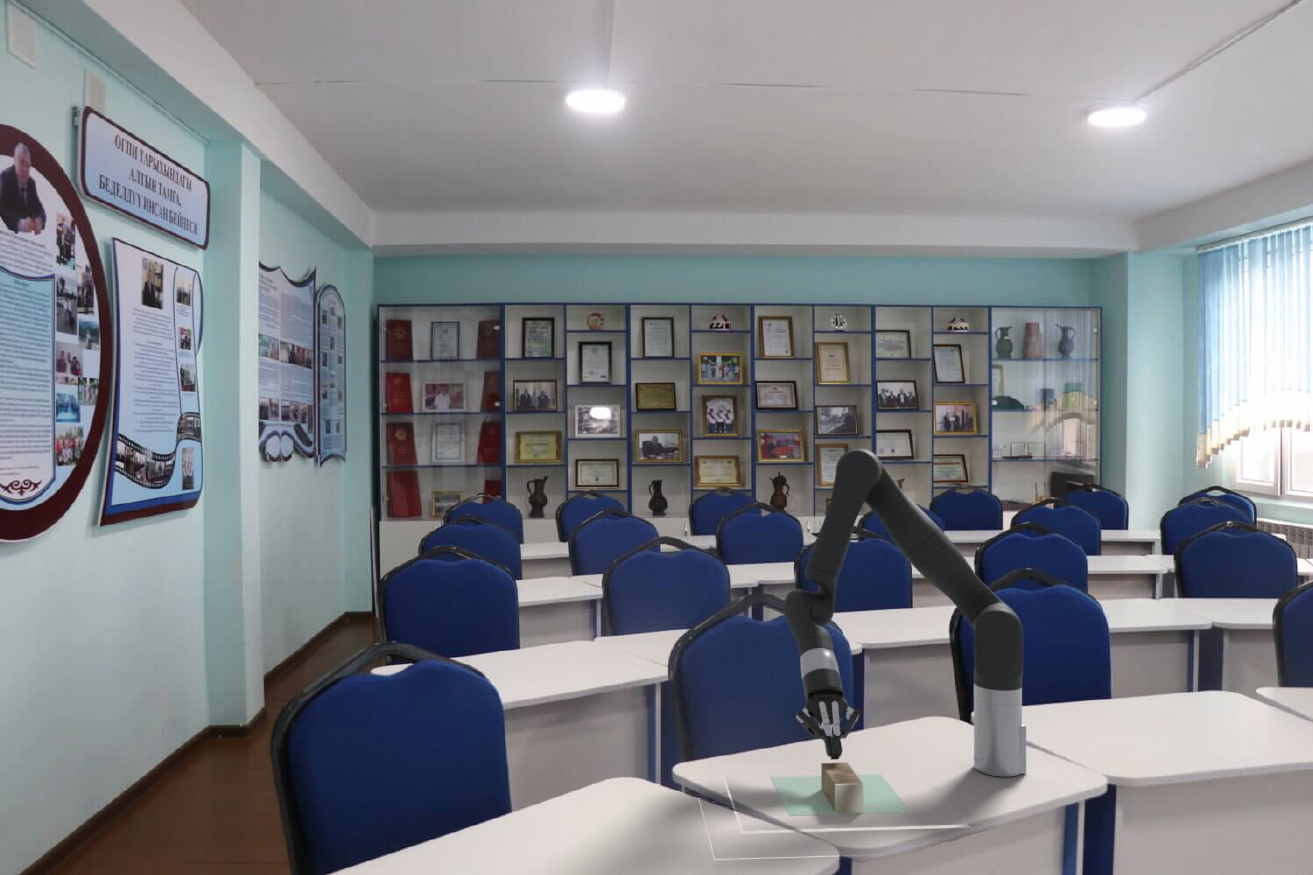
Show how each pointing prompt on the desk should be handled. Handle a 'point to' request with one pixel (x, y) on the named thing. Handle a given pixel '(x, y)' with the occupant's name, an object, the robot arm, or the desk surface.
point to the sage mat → (810, 799)
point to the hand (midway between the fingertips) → (835, 757)
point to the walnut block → (842, 787)
